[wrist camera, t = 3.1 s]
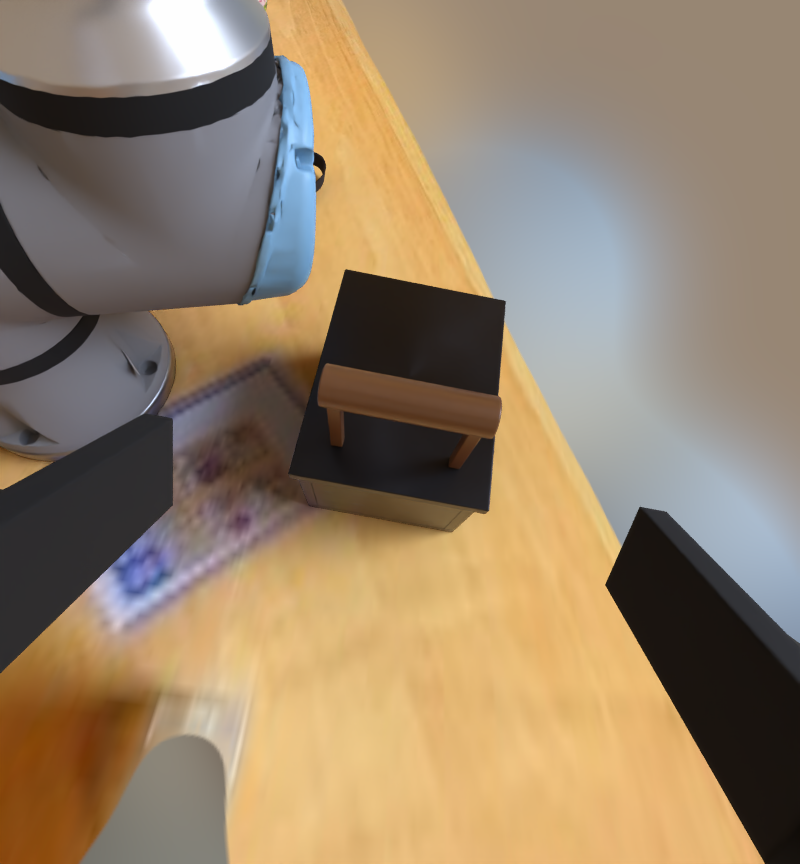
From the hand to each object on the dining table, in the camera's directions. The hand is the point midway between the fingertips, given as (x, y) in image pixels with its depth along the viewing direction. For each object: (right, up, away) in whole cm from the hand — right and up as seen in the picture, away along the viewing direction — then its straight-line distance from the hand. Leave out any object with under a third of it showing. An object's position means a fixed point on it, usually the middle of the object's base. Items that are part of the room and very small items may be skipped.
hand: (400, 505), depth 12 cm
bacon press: (+1, +5, +16) cm, 17 cm away
